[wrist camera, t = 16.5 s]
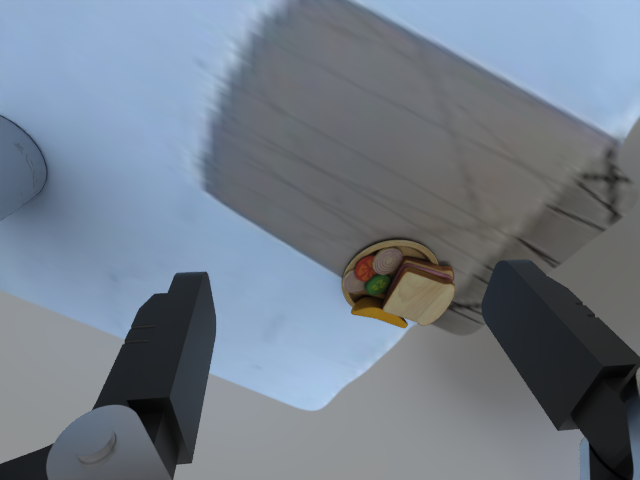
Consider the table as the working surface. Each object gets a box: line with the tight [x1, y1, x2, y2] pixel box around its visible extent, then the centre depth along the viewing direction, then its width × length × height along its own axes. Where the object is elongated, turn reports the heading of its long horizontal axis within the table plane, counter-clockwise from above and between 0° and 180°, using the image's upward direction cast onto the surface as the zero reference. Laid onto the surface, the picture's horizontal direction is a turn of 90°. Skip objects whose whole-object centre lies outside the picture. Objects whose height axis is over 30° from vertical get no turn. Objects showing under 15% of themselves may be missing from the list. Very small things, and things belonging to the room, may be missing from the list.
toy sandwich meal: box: [342, 240, 455, 328], centre depth 44 cm, size 12×14×5 cm
